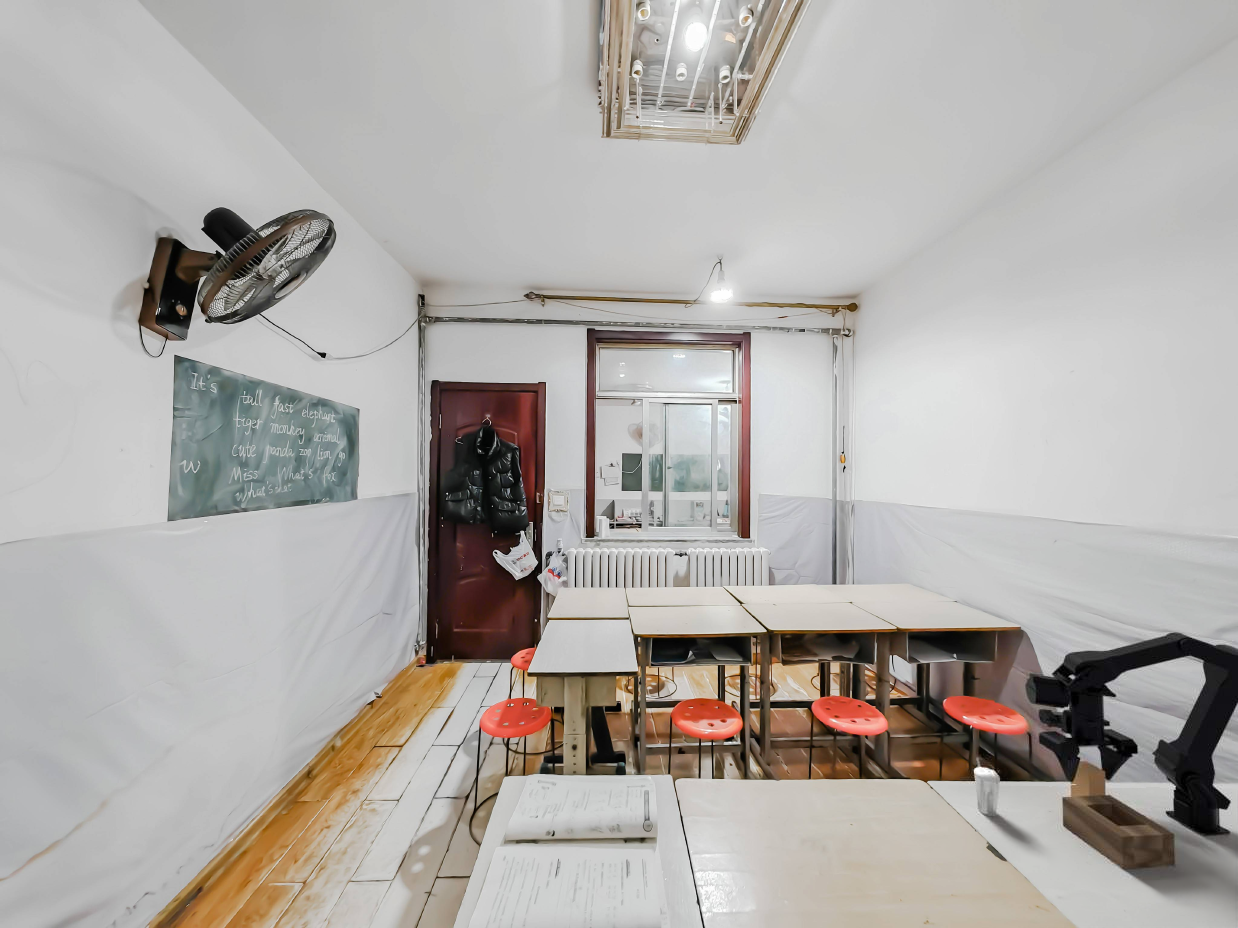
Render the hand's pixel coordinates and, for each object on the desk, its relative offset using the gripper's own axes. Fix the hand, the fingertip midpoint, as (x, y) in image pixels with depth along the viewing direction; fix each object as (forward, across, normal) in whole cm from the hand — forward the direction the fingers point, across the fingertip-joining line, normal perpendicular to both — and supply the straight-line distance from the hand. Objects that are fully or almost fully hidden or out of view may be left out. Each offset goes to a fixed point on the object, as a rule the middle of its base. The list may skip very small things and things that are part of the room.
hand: (1088, 779), depth 107 cm
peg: (+5, 0, 0) cm, 5 cm away
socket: (+5, +8, +12) cm, 15 cm away
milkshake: (+5, +26, +1) cm, 27 cm away
